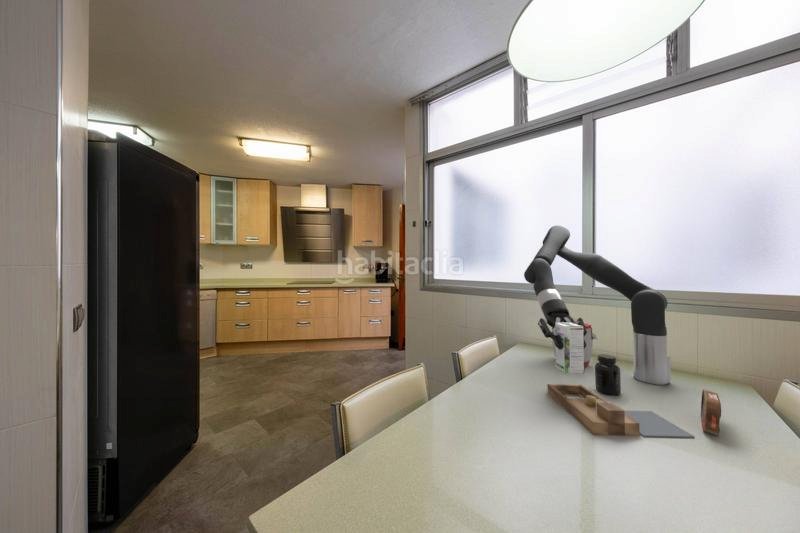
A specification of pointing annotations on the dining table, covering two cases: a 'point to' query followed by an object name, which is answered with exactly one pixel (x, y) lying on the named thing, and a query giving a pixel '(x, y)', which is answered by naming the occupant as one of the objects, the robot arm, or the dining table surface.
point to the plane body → (593, 411)
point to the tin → (710, 412)
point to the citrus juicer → (589, 344)
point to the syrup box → (570, 348)
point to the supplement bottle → (607, 376)
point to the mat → (656, 425)
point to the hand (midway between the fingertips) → (572, 348)
